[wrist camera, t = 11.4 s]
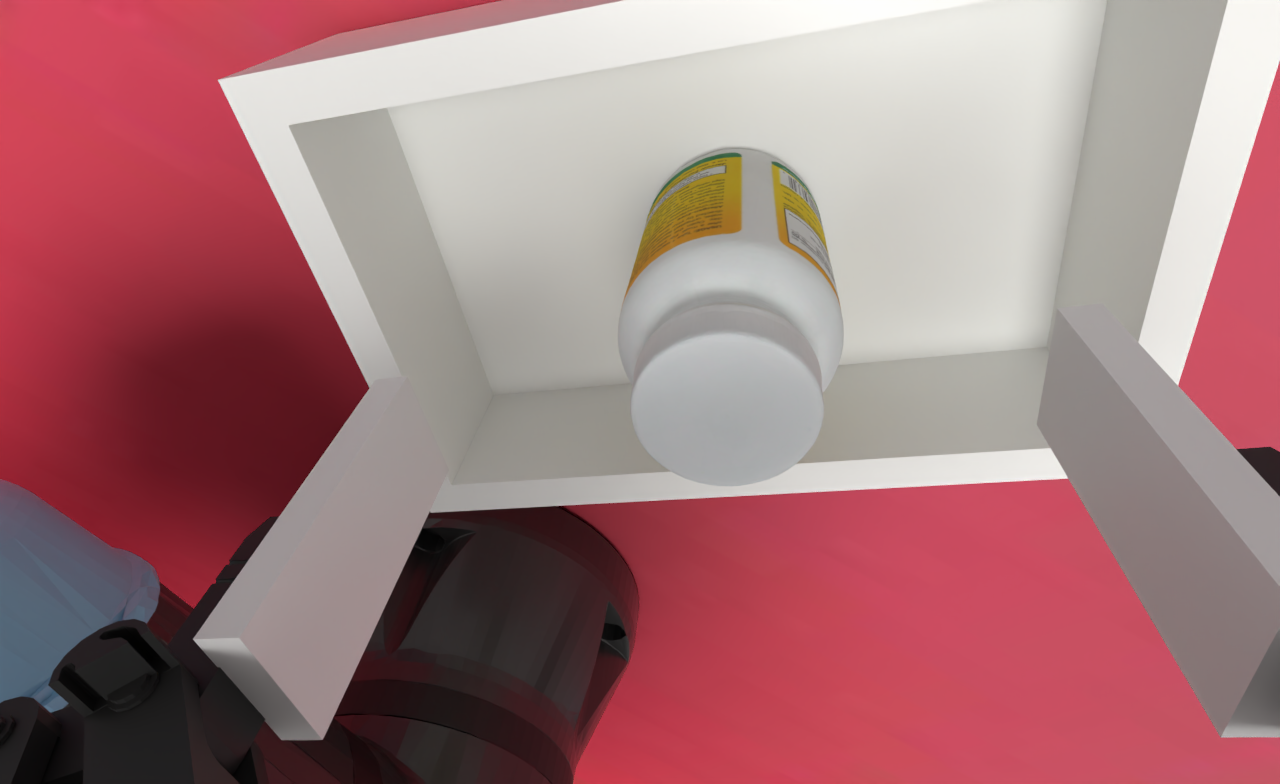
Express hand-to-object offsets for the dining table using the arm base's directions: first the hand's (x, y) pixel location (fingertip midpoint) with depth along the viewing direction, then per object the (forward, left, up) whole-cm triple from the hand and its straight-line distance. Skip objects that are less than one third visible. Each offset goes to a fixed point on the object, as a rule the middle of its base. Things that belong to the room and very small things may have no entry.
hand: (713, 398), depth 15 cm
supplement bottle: (0, 0, -9) cm, 9 cm away
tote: (0, 0, -10) cm, 10 cm away
